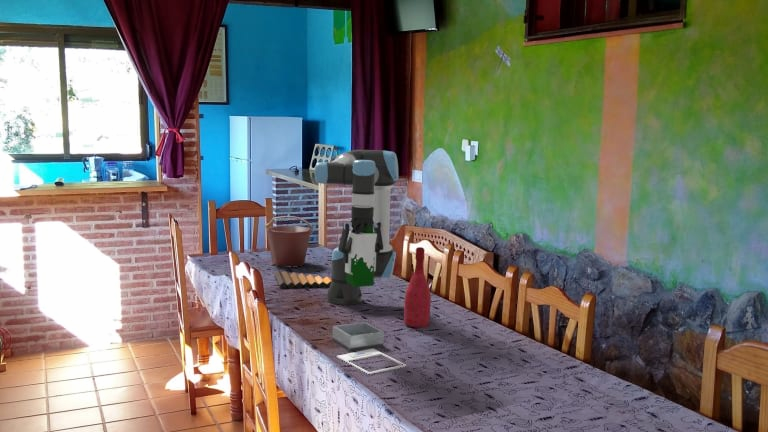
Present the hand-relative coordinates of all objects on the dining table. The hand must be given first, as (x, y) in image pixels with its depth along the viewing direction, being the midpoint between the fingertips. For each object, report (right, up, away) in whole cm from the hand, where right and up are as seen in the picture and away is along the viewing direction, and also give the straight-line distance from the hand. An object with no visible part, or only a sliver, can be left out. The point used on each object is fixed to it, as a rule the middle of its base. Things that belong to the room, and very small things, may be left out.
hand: (360, 271), depth 240 cm
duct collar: (-1, -25, +3) cm, 25 cm away
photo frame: (+4, -29, -14) cm, 32 cm away
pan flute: (-30, -13, +90) cm, 95 cm away
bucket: (-42, -6, +127) cm, 134 cm away
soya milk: (0, -5, +1) cm, 5 cm away
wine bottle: (+20, -23, +28) cm, 41 cm away
